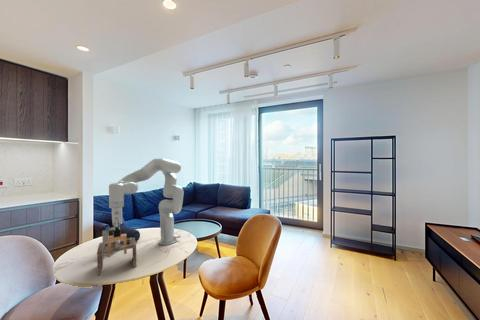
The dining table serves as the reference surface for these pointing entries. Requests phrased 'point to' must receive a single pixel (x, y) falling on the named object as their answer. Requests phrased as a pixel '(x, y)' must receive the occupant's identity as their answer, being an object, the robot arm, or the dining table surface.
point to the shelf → (117, 247)
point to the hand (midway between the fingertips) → (117, 235)
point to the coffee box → (105, 237)
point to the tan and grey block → (112, 238)
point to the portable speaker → (130, 233)
